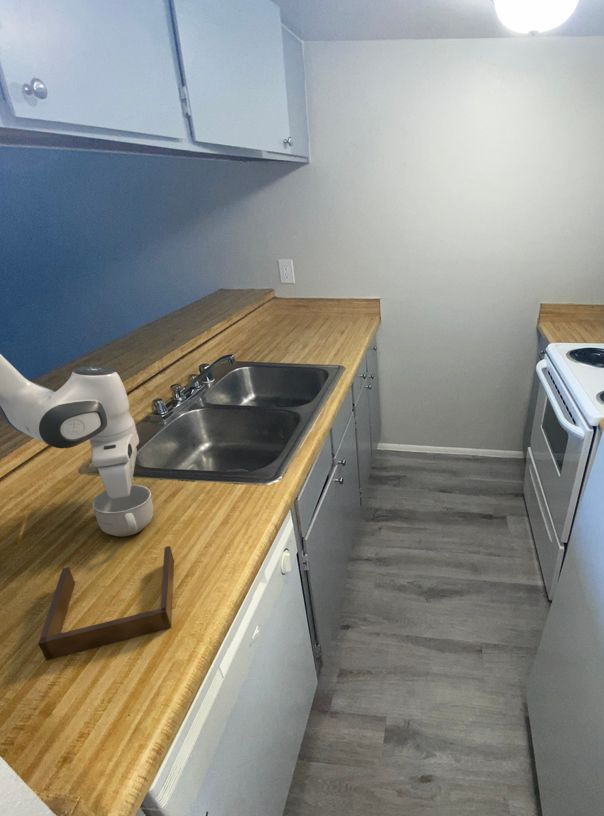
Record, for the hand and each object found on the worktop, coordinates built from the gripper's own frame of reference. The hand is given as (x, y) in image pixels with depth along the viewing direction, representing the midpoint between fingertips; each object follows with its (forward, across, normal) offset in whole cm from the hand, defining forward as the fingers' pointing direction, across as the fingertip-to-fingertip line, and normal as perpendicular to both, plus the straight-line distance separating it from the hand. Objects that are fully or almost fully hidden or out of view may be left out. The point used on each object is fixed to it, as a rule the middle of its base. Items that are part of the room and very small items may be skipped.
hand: (130, 491), depth 107 cm
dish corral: (+4, +30, 0) cm, 30 cm away
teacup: (+4, +9, 0) cm, 10 cm away
